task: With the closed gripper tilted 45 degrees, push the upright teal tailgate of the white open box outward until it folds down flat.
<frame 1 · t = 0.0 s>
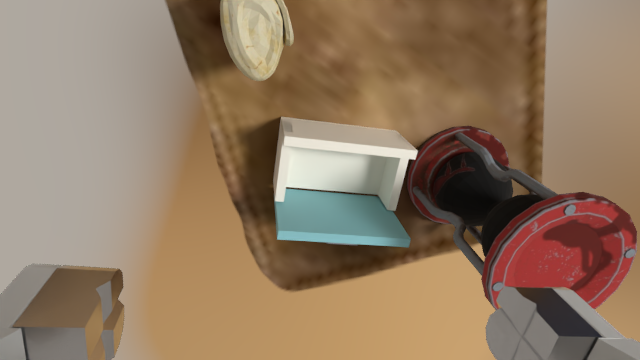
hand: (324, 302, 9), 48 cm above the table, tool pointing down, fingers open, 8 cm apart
food model: (256, 19, 50), on the table
tailgate: (336, 218, 54), point 8 cm above the table, hinge at 0.0°
white open box: (334, 156, 59), on the table
hourglass: (454, 174, 63), on the table
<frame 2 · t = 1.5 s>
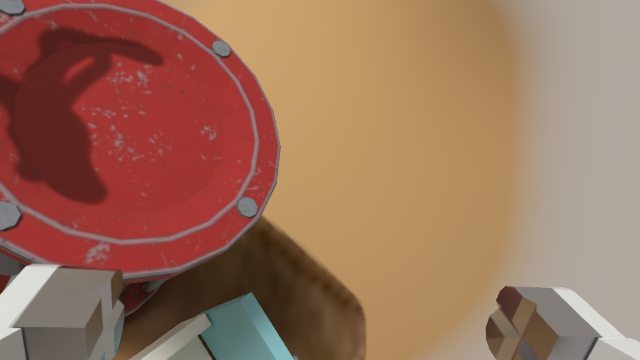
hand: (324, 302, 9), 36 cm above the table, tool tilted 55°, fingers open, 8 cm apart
hourglass: (84, 244, 38), on the table
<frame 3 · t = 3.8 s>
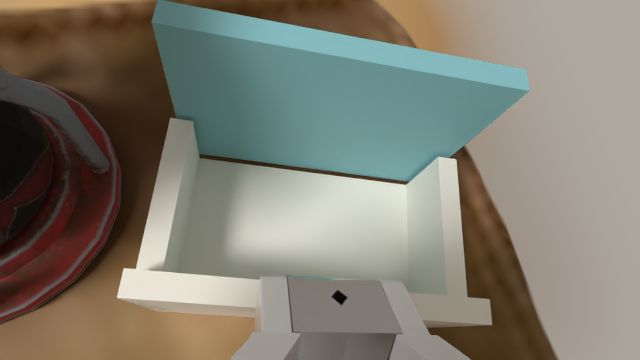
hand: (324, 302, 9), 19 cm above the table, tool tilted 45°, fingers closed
tailgate: (326, 111, 23), point 8 cm above the table, hinge at 0.0°
white open box: (297, 244, 28), on the table
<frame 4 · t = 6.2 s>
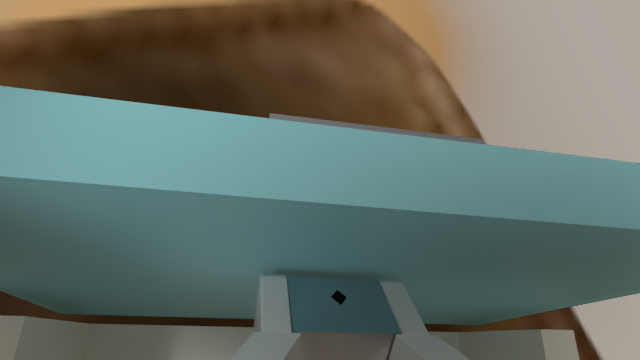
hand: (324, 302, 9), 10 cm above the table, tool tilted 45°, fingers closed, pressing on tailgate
tailgate: (322, 255, 11), point 8 cm above the table, hinge at 4.3°, touching gripper
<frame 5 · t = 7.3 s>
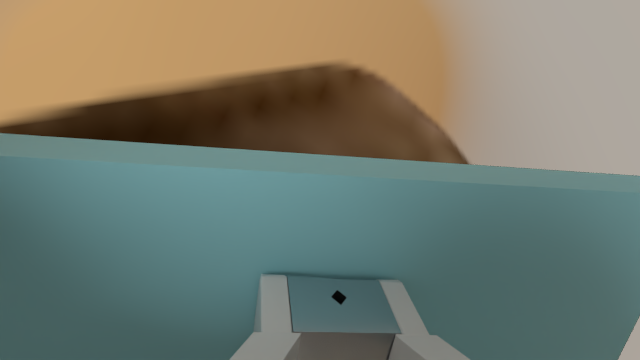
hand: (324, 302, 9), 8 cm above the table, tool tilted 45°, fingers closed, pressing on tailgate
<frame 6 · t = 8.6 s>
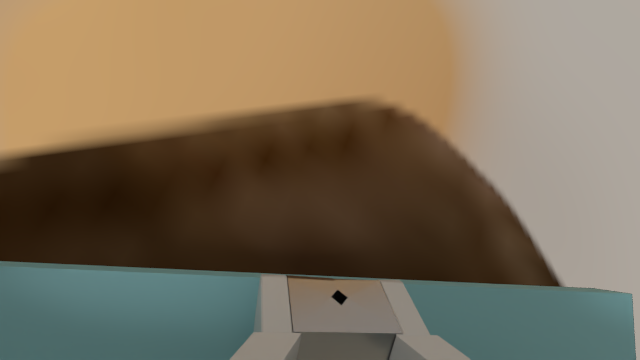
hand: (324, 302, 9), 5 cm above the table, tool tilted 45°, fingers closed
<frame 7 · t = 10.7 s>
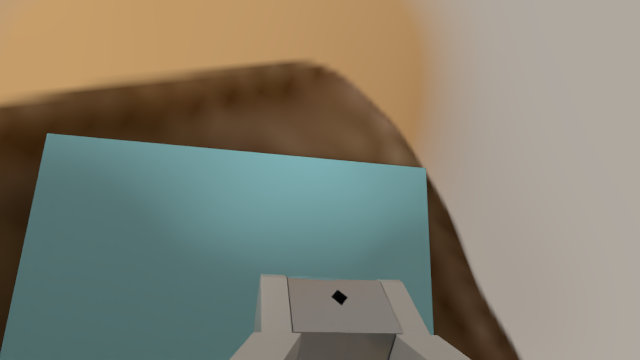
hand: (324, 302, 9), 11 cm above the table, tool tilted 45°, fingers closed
tailgate: (244, 291, 17), point 2 cm above the table, hinge at 83.2°
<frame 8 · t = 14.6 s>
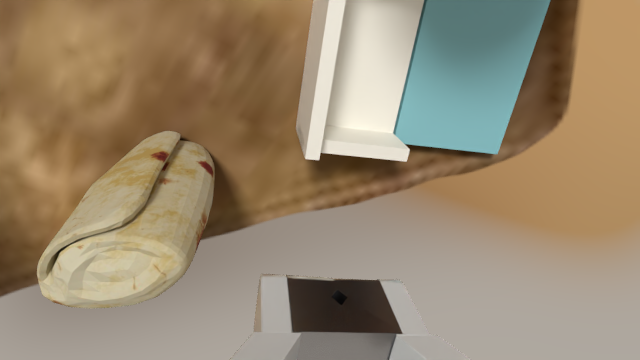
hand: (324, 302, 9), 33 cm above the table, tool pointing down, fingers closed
food model: (173, 156, 41), on the table
tailgate: (465, 67, 40), point 1 cm above the table, hinge at 90.0°
white open box: (358, 50, 39), on the table
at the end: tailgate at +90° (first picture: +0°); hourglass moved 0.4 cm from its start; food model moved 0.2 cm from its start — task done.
